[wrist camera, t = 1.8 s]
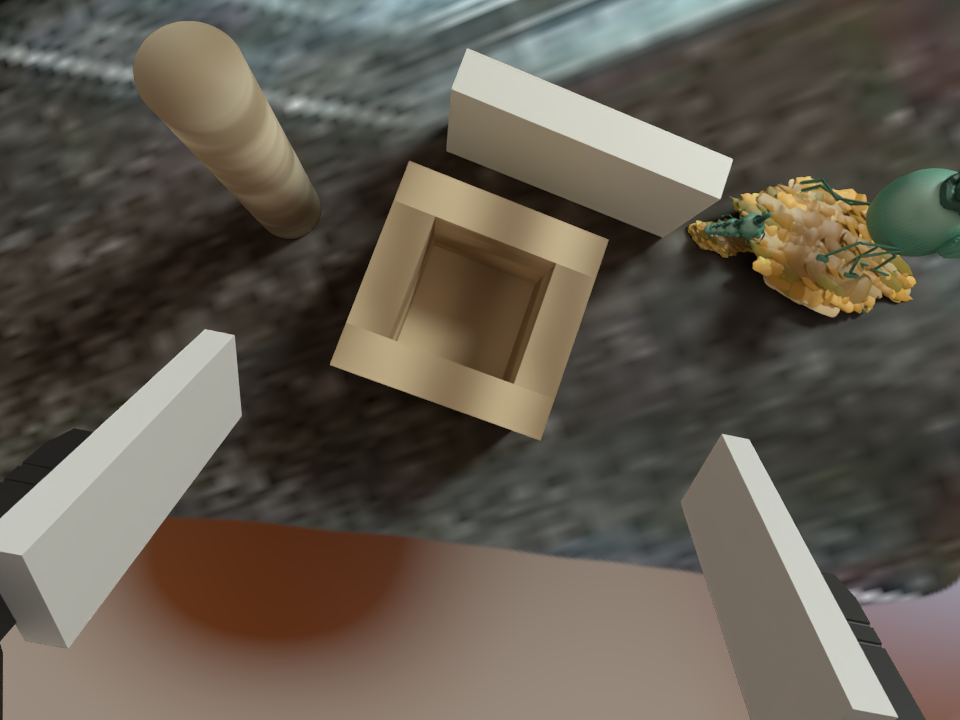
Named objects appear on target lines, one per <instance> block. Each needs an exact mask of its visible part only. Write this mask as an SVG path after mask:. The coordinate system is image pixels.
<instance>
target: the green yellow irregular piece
mask: <svg viewBox="0 0 960 720" xmlns="http://www.w3.org/2000/svg"><path fill="white" fill-rule="evenodd" d="M776 184H777V183H776ZM780 184H781V183H780ZM778 185H779V184H778ZM782 185H783V184H782ZM782 185H779V186H780V187H779V186H776V187H774V188H773V187H771V186H769V187H768V188H767V189H766V191H761V192H760V193H759V194H757V193H753V194H749V193H746V194H743V195H742V200H741V199H736V198H732V197H731V198H732V199H733V206H734V209H735V210H736V211H737V212H739V213H740V219H739V220H738V219H737V218H733V217H732V216H731V215H730V214H726V215H730V216H731V218H732V219H729V220H728V219H726V218H725V219H724V221H722V220H720V219H719V220H718V223H717V222H715V221H714V222H712V221H711V222H702V221H696V223H693V224H691V225H689V227H688V228H687V230H688V231H689V232H688V233H690V234H691V236H692V238H693V240H694V241H695V242H696V243H697V244H698V246H700V248H701V249H704V250H711V251H715V252H718V253H719V254H720V255H721V256H722V257H726V258H728V256H733V255H735V256H736V253H735V252H737V253H738V252H740V251H742V252H749V253H751V252H752V253H753V252H754V253H755V255H756V256H757V260H756V261H755V262H753V270H755V271H757V272H759V273H761V274H763V279H764V282H765V283H766V284H767V285H768V286H769V287H770V288H773V289H774V290H777V291H778V292H780V293H781V294H783V295H784V296H786V297H788V298H789V299H791V300H792V301H794V302H796V303H798V304H799V305H800V304H802V305H804V306H806V307H808V308H810V309H812V310H814V311H816V312H818V313H821V314H824V315H826V316H829V317H835V316H837V314H838V313H839V311H840V310H842V311H844V312H846V313H851V312H852V311H855V312H858V313H859V314H860V313H862V308H863V309H864V310H865V311H866V312H869V311H870V310H871V309H873V305H874V304H875V299H876V298H878V299H880V298H882V294H883V295H884V296H886V297H888V298H890V299H891V300H892V301H894V302H897V303H900V302H901V301H909V300H911V299H912V298H911V297H910V296H909V295H910V292H911V288H910V287H913V286H914V284H916V281H915V279H914V277H912V276H909V275H913V274H912V272H911V270H910V267H909V266H908V265H907V264H906V263H905V262H904V261H903V260H902V258H900V256H925V255H930V254H934V253H937V252H938V254H939V255H940V256H942V257H943V258H960V170H959V172H955V171H952V170H947V169H938V168H934V169H923V170H919V171H915V172H912V173H910V174H907V175H905V176H902V177H900V178H898V179H896V180H894V181H892V182H891V183H889V184H888V185H886V186H885V187H884V188H883V189H882V190H881V191H880V192H879V193H878V195H877V196H876V197H875V199H874V200H873V201H872V202H867V198H866V195H864V194H857V193H856V192H855V191H854V190H853V189H846V190H834V189H831V187H830V186H829V185H828V183H827V182H826V181H825V180H824V178H821V179H811V177H810V176H808V177H804V178H803V177H798V178H796V181H795V180H794V179H791V180H789V187H786V186H782ZM867 205H869V206H867ZM721 217H724V215H721ZM899 255H900V256H899Z"/></svg>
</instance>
